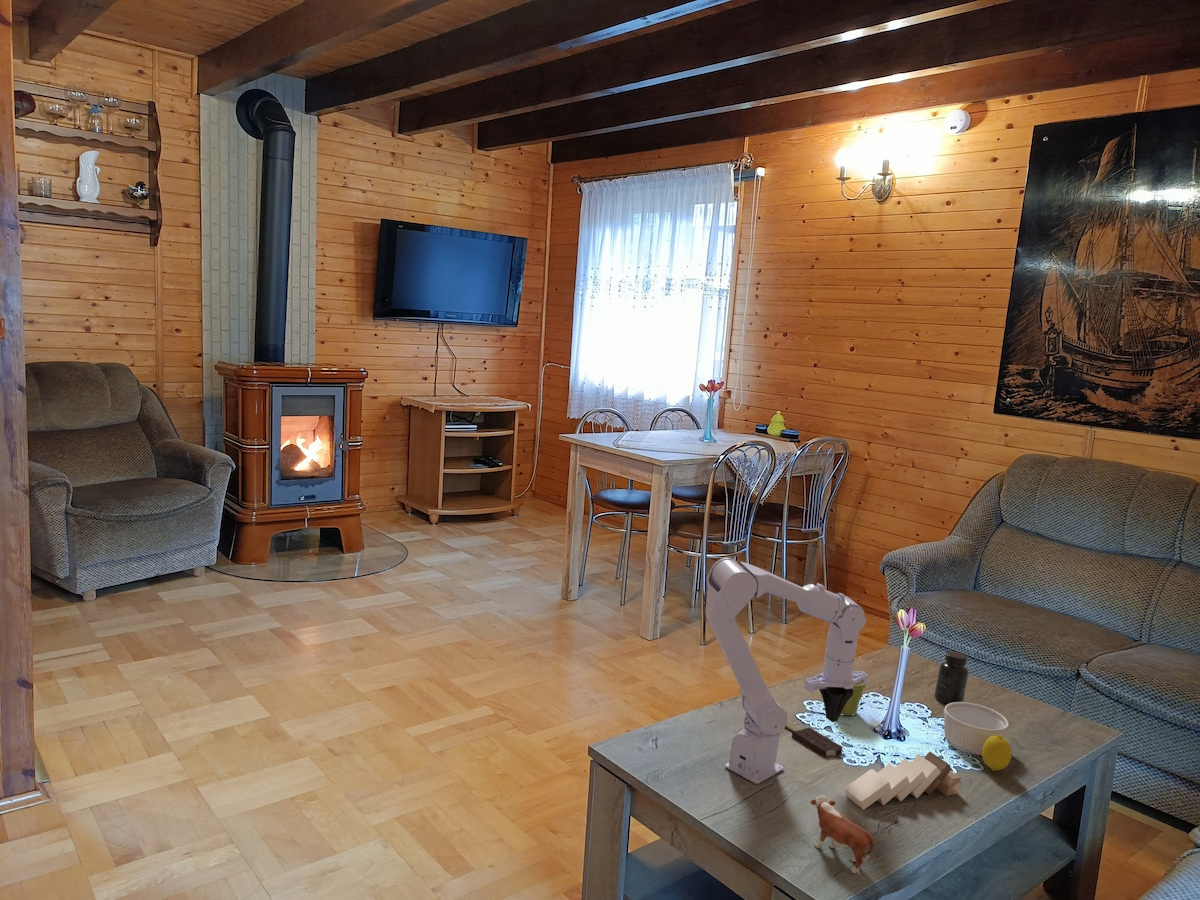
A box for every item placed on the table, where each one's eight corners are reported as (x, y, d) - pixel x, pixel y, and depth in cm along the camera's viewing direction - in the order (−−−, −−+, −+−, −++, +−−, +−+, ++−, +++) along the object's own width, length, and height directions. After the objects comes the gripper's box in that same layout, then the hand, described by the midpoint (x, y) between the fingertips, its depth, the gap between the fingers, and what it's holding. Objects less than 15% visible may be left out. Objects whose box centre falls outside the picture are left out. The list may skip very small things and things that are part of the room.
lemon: (1005, 780, 179) (1012, 745, 178) (977, 771, 182) (983, 735, 180) (1009, 769, 184) (1015, 735, 182) (981, 760, 186) (987, 726, 185)
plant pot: (815, 710, 203) (821, 675, 201) (830, 697, 211) (835, 664, 209) (855, 724, 198) (860, 689, 196) (868, 710, 205) (873, 676, 204)
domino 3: (897, 794, 167) (922, 771, 168) (879, 781, 171) (904, 758, 172) (900, 801, 167) (926, 777, 169) (883, 788, 172) (908, 765, 173)
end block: (946, 795, 171) (949, 779, 170) (920, 777, 177) (923, 761, 177) (958, 793, 172) (960, 777, 172) (931, 774, 178) (934, 759, 178)
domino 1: (861, 802, 163) (889, 781, 165) (844, 788, 167) (871, 768, 169) (863, 809, 163) (891, 789, 165) (846, 795, 167) (873, 776, 170)
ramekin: (942, 751, 189) (948, 721, 188) (936, 724, 202) (941, 696, 201) (1008, 765, 186) (1013, 735, 185) (997, 737, 198) (1003, 708, 197)
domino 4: (913, 792, 168) (936, 766, 170) (895, 779, 172) (918, 754, 174) (917, 798, 169) (940, 772, 170) (899, 785, 173) (922, 760, 175)
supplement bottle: (967, 708, 212) (976, 662, 210) (940, 705, 212) (948, 659, 210) (956, 695, 219) (964, 650, 217) (930, 692, 219) (937, 648, 217)
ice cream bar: (775, 728, 193) (827, 760, 181) (776, 721, 193) (828, 753, 181) (791, 723, 196) (844, 755, 184) (792, 716, 196) (845, 748, 184)
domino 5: (925, 790, 170) (947, 763, 171) (907, 777, 174) (929, 751, 175) (929, 795, 170) (951, 769, 172) (911, 782, 175) (933, 756, 176)
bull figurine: (815, 828, 156) (821, 787, 154) (874, 873, 145) (882, 829, 143) (797, 835, 153) (804, 792, 152) (856, 881, 142) (864, 836, 141)
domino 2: (880, 798, 165) (907, 776, 167) (863, 784, 169) (889, 763, 171) (883, 805, 165) (909, 783, 167) (866, 791, 170) (892, 770, 172)
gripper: (823, 668, 167) (815, 734, 169) (881, 660, 173) (873, 723, 175) (801, 654, 173) (793, 717, 175) (857, 646, 179) (849, 707, 182)
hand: (831, 719), depth 176 cm, fingers closed
